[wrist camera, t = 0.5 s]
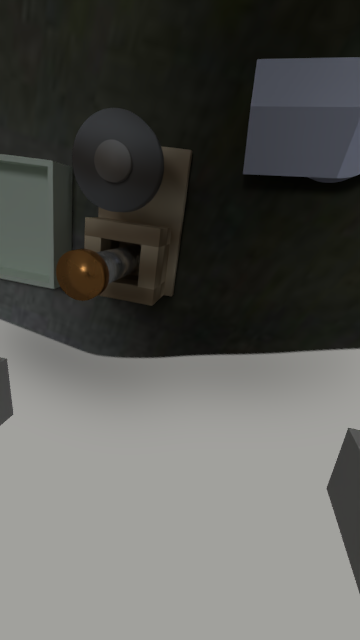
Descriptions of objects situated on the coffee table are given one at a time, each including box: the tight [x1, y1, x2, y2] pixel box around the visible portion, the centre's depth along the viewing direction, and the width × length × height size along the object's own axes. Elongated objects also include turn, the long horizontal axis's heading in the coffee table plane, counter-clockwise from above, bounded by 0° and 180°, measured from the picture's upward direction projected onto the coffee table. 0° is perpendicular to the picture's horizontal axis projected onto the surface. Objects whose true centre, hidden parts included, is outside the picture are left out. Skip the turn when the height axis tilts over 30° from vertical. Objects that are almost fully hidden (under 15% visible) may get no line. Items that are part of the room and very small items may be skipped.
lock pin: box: [56, 245, 141, 301], centre depth 29 cm, size 4×4×13 cm
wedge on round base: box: [243, 57, 360, 183], centre depth 26 cm, size 9×7×13 cm
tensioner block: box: [72, 108, 192, 306], centre depth 31 cm, size 17×10×9 cm, turn 172°
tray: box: [0, 154, 73, 289], centre depth 36 cm, size 14×12×4 cm
